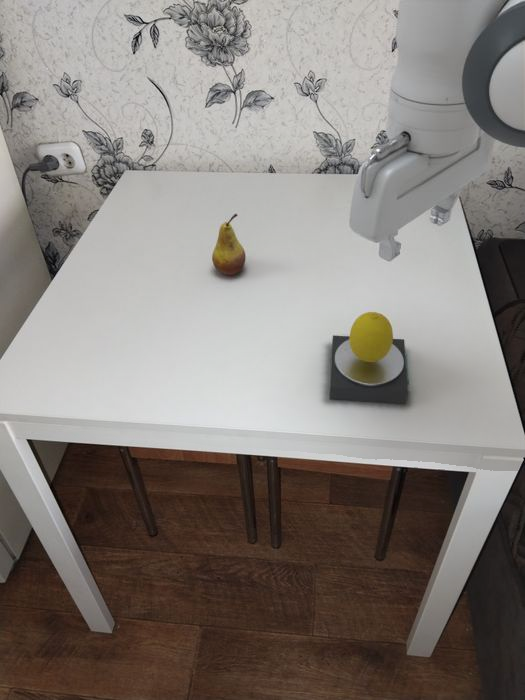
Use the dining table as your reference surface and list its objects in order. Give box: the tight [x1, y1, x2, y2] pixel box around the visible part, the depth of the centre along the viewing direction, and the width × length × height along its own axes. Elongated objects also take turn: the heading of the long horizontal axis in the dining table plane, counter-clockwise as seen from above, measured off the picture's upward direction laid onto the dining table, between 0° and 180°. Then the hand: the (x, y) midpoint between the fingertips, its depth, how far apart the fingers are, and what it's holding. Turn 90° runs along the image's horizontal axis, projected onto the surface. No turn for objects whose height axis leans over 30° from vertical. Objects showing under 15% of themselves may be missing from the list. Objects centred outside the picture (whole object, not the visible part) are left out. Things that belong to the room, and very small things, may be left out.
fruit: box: [211, 213, 247, 276], centre depth 96 cm, size 6×6×12 cm
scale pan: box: [335, 340, 404, 387], centre depth 80 cm, size 9×9×1 cm
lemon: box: [349, 311, 394, 362], centre depth 77 cm, size 6×6×8 cm
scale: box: [329, 334, 410, 406], centre depth 81 cm, size 10×10×3 cm
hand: (414, 238), depth 67 cm, fingers open, 8 cm apart
